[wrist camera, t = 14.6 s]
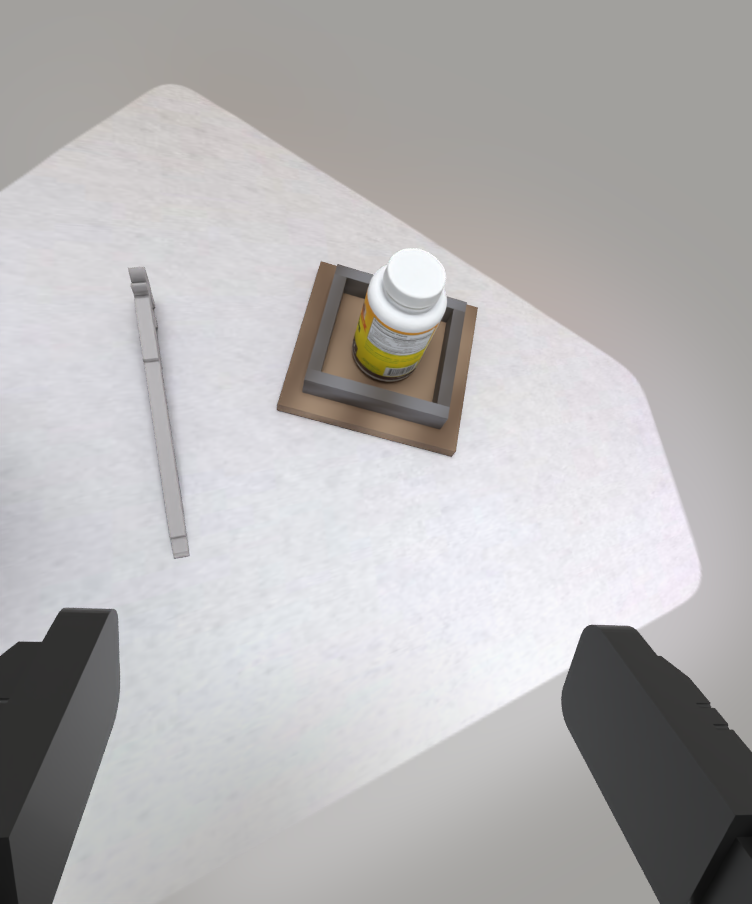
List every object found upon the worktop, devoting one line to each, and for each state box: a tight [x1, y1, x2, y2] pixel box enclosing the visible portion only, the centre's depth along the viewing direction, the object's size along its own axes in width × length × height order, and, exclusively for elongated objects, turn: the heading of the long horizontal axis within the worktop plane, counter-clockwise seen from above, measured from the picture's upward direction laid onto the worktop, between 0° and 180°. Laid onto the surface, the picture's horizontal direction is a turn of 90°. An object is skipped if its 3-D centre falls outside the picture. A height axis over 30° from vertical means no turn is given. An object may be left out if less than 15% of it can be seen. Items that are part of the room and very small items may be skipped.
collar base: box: [277, 261, 478, 456], centre depth 46 cm, size 14×14×3 cm
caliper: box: [128, 267, 189, 559], centre depth 39 cm, size 20×1×6 cm, turn 14°
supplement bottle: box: [352, 248, 447, 382], centre depth 42 cm, size 6×6×10 cm
